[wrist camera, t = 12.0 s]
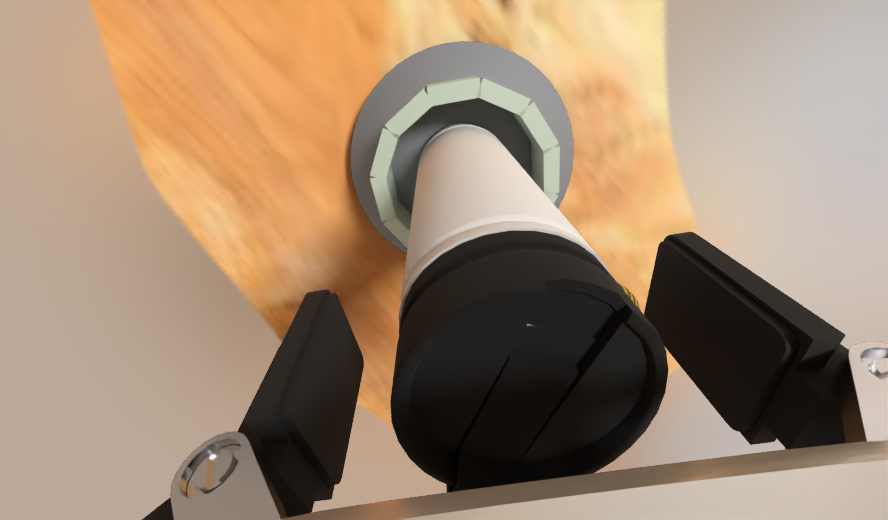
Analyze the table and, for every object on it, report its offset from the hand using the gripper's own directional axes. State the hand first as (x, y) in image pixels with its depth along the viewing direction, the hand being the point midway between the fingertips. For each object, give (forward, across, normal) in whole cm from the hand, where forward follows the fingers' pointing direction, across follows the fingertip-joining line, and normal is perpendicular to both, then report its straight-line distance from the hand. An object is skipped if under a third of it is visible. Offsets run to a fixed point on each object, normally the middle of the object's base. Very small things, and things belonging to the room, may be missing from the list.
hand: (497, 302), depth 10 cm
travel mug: (+16, 0, +1) cm, 16 cm away
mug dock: (+17, 0, +1) cm, 17 cm away
